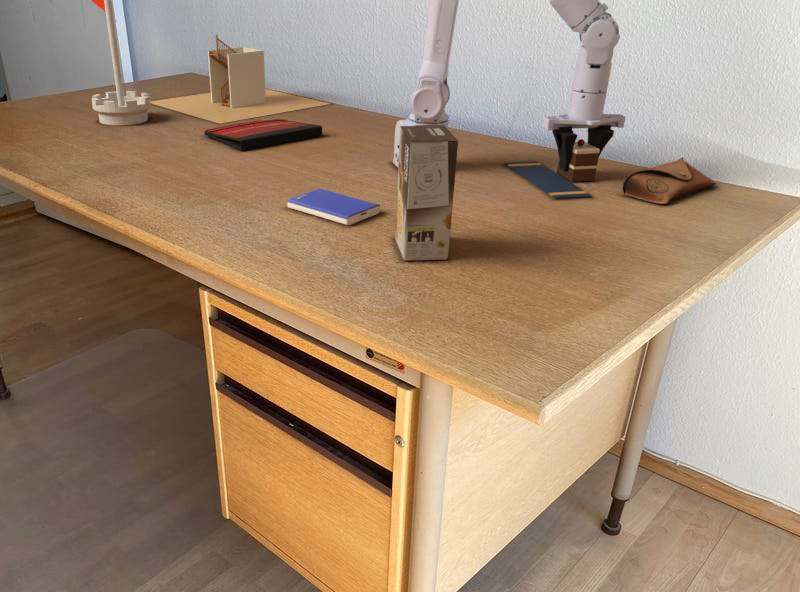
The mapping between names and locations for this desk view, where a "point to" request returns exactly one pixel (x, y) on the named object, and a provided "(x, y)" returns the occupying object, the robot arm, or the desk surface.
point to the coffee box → (425, 191)
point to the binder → (263, 133)
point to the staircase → (236, 89)
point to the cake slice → (581, 162)
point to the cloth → (547, 180)
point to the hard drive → (334, 206)
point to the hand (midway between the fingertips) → (576, 168)
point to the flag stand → (119, 87)
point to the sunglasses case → (665, 182)
